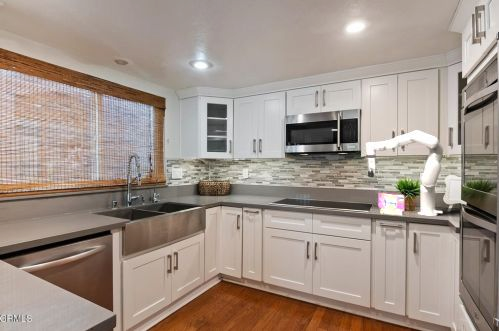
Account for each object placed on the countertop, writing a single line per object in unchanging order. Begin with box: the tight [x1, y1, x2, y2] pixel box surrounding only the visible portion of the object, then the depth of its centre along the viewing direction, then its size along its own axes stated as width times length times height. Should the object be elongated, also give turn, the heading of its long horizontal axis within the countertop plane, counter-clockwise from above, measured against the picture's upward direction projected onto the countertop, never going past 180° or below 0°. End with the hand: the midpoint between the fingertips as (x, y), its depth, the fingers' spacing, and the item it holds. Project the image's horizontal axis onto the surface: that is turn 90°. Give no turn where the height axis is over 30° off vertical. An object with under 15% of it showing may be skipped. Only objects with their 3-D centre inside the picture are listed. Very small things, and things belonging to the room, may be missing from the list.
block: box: [388, 204, 394, 210], centre depth 212 cm, size 4×4×4 cm
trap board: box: [379, 207, 403, 216], centre depth 215 cm, size 15×12×3 cm
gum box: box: [377, 191, 405, 212], centre depth 232 cm, size 24×8×14 cm, turn 13°
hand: (370, 177), depth 226 cm, fingers open, 9 cm apart
